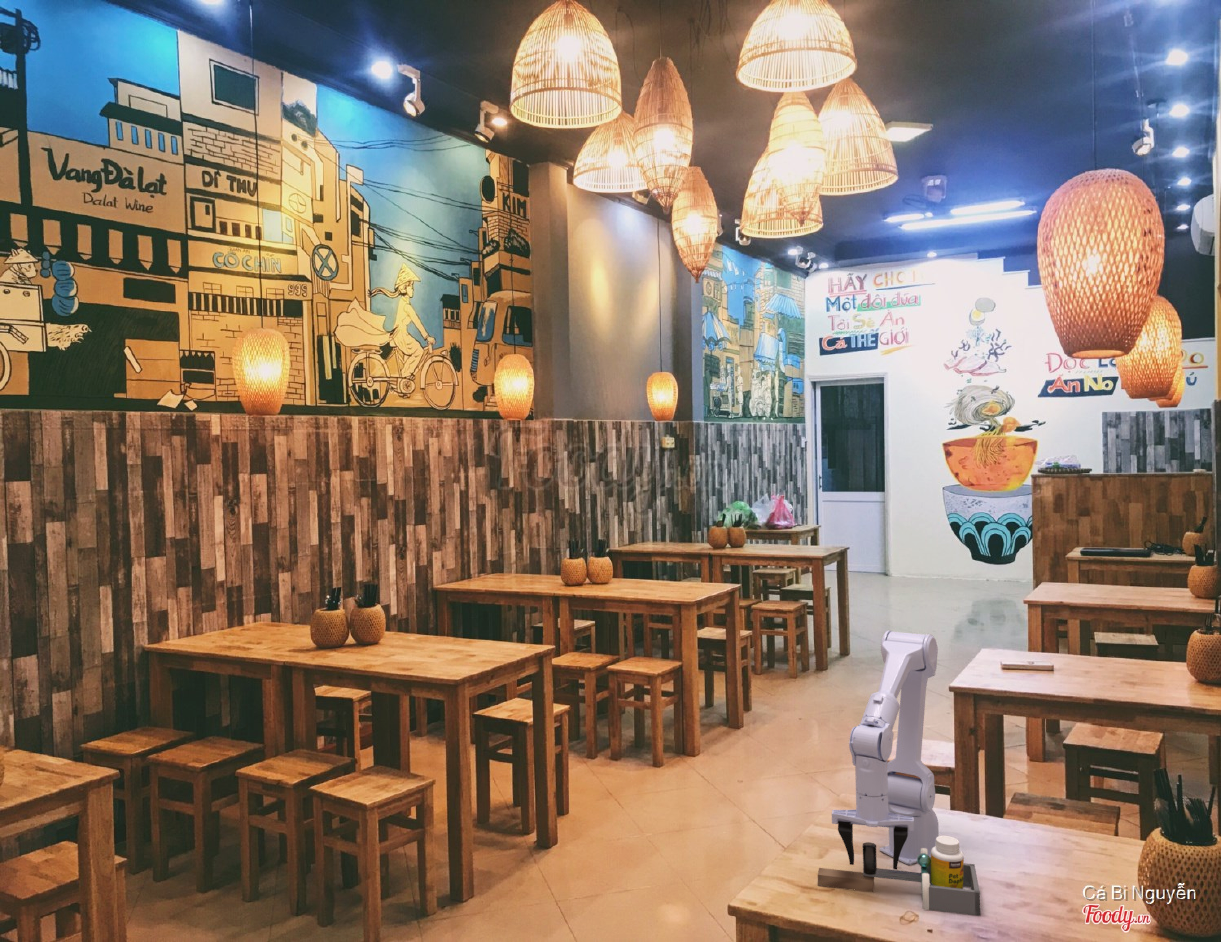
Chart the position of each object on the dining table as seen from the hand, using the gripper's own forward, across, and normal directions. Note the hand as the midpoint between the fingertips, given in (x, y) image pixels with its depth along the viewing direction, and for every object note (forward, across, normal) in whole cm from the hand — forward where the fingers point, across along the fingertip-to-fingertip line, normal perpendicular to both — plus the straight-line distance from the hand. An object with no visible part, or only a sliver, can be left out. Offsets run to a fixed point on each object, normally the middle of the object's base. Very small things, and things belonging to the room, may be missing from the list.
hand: (873, 864), depth 168 cm
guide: (+4, -5, 0) cm, 7 cm away
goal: (+4, +13, 0) cm, 14 cm away
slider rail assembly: (+4, +4, 0) cm, 6 cm away
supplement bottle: (+4, +13, 0) cm, 13 cm away
